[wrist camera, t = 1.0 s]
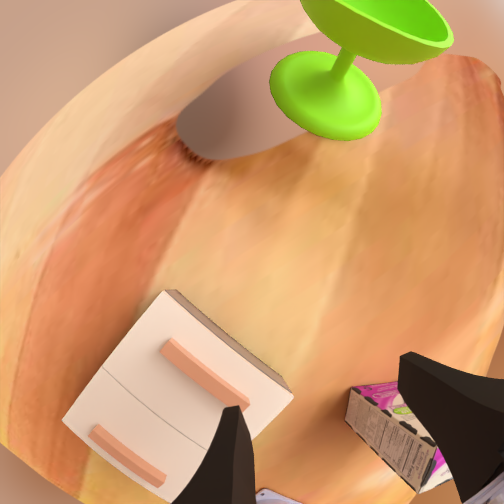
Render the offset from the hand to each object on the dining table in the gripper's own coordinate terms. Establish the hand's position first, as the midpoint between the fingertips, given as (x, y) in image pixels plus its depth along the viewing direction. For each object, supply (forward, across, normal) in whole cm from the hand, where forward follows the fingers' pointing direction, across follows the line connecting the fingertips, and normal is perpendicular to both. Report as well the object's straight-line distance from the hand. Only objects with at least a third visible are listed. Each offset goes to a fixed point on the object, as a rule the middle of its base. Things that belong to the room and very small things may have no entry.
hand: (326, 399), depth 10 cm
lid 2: (+8, +16, +10) cm, 21 cm away
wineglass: (+27, -14, -20) cm, 36 cm away
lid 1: (+11, +8, +5) cm, 15 cm away
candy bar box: (+14, -11, +18) cm, 25 cm away
